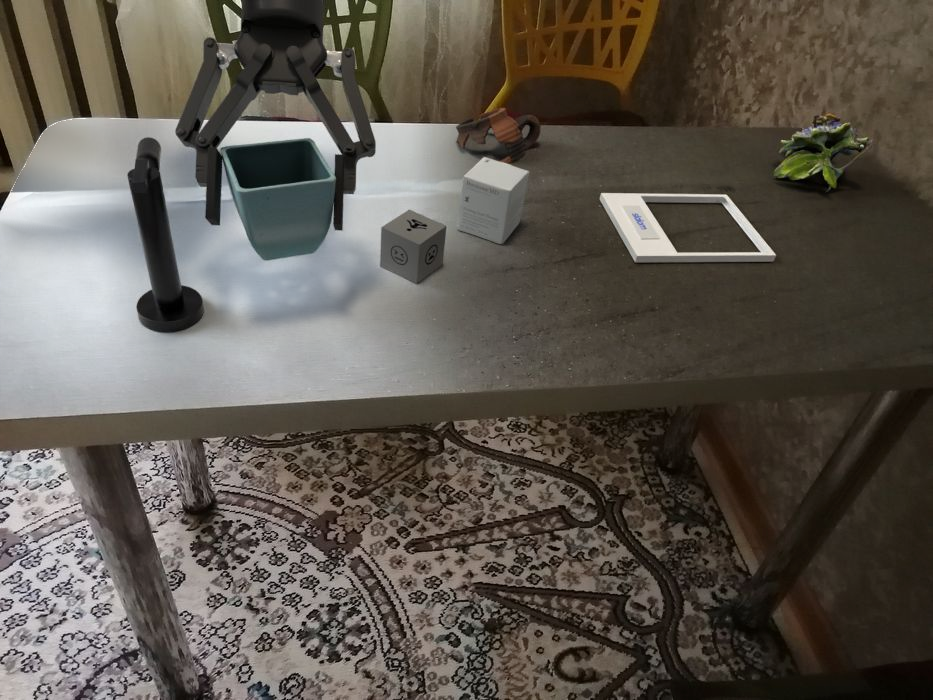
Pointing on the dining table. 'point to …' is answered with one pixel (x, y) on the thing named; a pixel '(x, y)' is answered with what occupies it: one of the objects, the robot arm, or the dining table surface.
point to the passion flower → (820, 149)
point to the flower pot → (281, 195)
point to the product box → (492, 200)
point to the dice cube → (412, 245)
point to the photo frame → (652, 241)
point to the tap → (159, 249)
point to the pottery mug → (501, 132)
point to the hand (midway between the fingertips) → (275, 224)
